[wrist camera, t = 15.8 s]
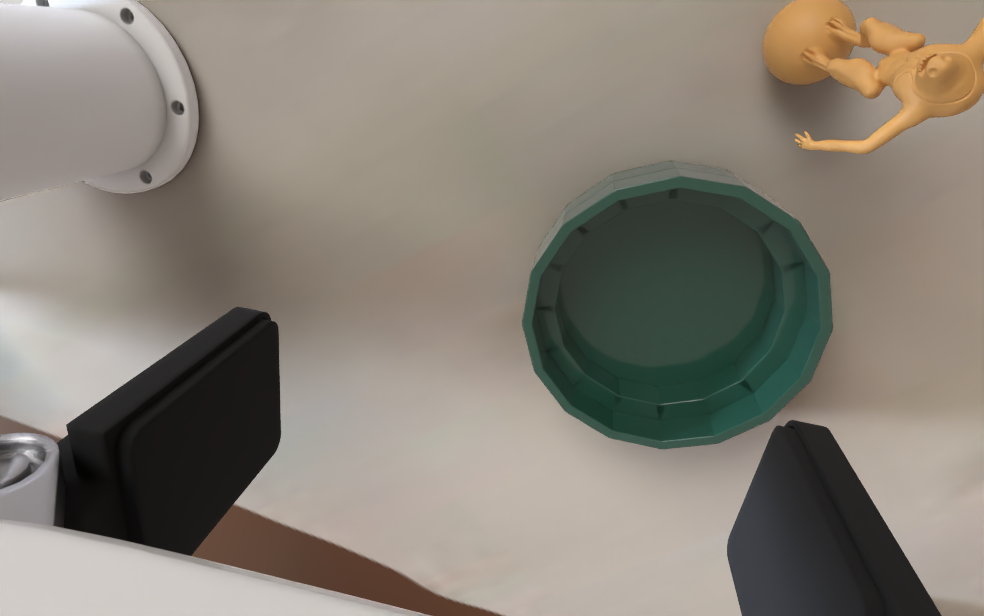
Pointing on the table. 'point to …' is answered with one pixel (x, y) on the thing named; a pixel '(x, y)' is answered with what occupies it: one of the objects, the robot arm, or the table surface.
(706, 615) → the table surface
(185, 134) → the robot arm
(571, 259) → the bowl
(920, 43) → the figurine
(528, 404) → the table surface
